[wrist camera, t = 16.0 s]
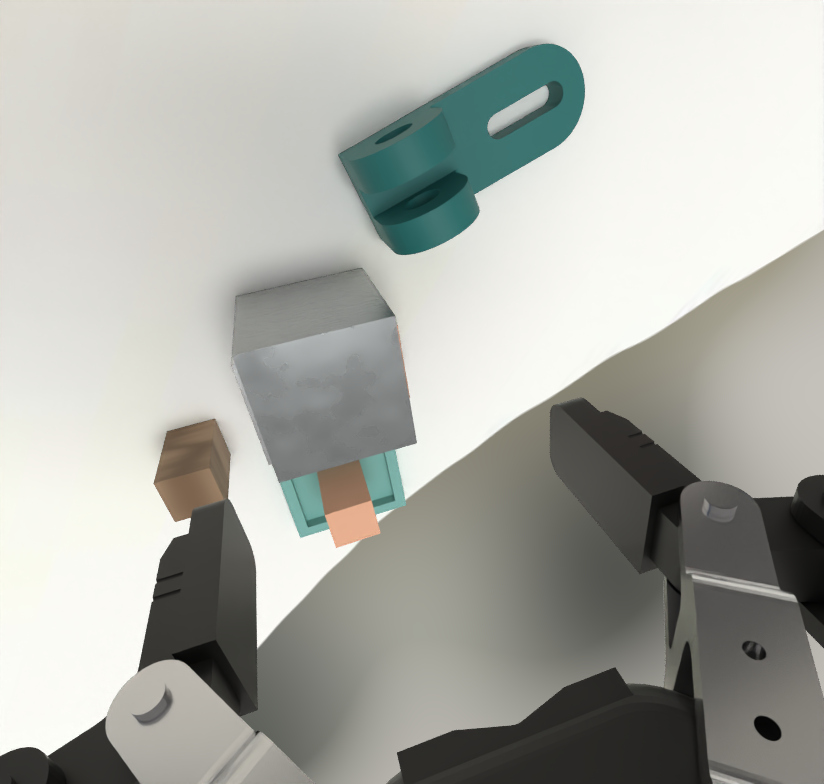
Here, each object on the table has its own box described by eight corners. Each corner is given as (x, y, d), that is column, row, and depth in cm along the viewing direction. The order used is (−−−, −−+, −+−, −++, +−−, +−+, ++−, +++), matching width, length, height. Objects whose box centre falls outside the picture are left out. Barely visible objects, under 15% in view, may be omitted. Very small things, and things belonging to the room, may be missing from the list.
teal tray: (298, 525, 51) (300, 537, 50) (267, 440, 45) (268, 451, 44) (401, 493, 53) (406, 505, 51) (384, 408, 47) (388, 418, 46)
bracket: (380, 238, 40) (406, 264, 33) (337, 154, 36) (357, 165, 29) (577, 124, 40) (642, 127, 33) (554, 28, 36) (623, 11, 29)
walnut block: (185, 467, 44) (175, 522, 39) (167, 431, 42) (153, 483, 36) (230, 454, 45) (227, 506, 39) (215, 418, 43) (209, 467, 37)
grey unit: (268, 404, 44) (273, 484, 34) (230, 297, 38) (224, 357, 29) (389, 373, 45) (424, 440, 36) (369, 266, 40) (404, 313, 31)
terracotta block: (326, 495, 49) (336, 547, 43) (315, 464, 47) (324, 515, 41) (365, 483, 50) (380, 533, 44) (356, 452, 48) (371, 500, 42)
